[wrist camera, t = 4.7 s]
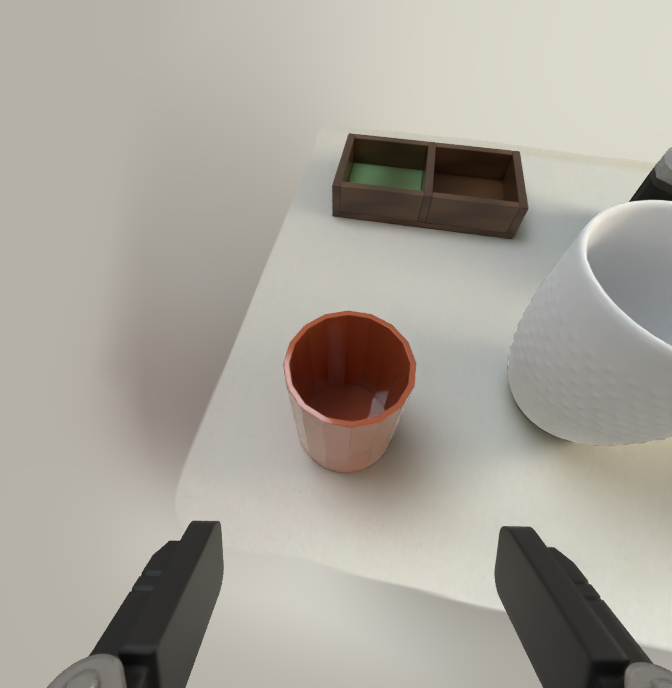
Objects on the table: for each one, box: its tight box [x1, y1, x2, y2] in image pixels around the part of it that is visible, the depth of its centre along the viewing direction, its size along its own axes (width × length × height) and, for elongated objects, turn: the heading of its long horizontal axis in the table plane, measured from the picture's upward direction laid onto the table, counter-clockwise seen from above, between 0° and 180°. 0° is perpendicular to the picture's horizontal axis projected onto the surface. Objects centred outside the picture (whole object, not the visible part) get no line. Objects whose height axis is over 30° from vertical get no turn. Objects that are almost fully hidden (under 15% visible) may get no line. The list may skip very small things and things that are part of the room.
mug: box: [507, 200, 672, 446], centre depth 22 cm, size 15×11×13 cm
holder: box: [332, 133, 528, 239], centre depth 38 cm, size 18×10×4 cm, turn 79°
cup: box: [284, 311, 416, 473], centre depth 22 cm, size 7×7×9 cm
